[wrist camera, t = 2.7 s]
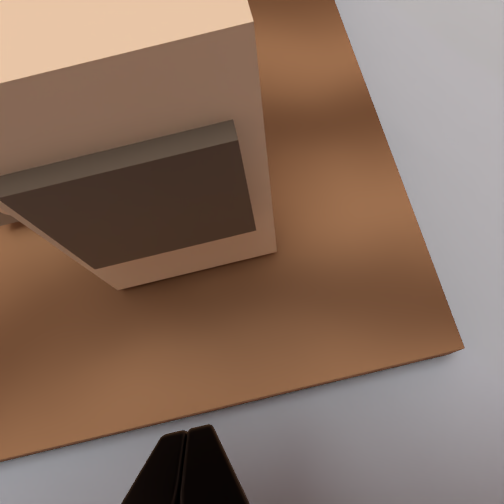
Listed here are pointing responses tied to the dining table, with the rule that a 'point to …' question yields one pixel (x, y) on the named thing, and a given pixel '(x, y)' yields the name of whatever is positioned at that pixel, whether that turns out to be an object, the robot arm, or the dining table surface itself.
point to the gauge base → (236, 275)
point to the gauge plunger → (135, 134)
